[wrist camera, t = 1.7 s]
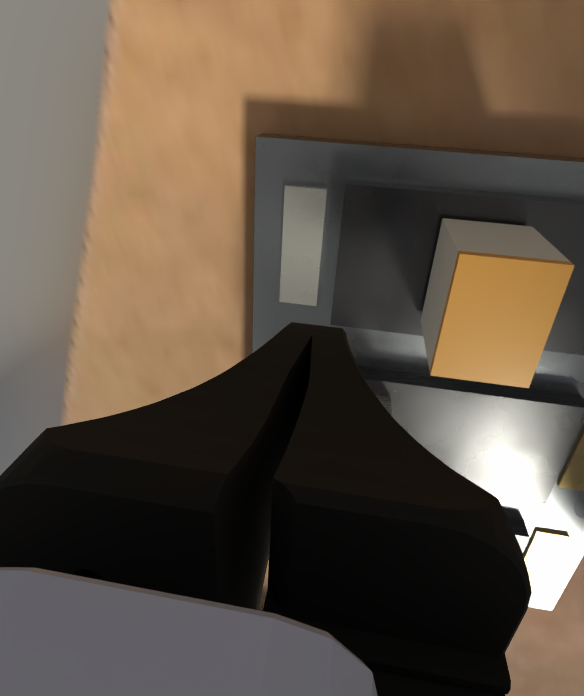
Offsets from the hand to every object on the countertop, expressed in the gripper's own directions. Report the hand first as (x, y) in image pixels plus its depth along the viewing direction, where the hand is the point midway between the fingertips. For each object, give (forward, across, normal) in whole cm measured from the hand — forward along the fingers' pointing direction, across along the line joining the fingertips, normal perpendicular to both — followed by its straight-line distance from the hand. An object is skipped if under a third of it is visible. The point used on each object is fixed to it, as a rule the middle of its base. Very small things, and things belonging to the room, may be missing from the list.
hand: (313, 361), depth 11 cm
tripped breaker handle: (+7, -5, 0) cm, 9 cm away
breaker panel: (+10, -6, +8) cm, 14 cm away
